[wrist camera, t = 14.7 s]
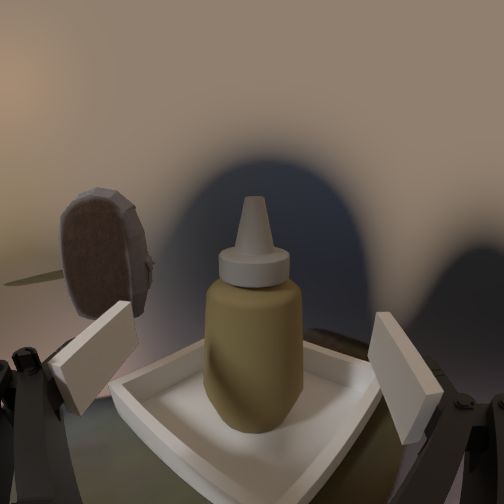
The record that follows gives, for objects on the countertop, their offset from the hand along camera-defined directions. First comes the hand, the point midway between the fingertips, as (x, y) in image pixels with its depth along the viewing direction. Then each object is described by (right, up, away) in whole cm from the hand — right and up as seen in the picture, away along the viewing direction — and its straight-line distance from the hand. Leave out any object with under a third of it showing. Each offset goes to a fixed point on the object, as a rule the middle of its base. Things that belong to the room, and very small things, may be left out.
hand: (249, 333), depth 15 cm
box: (0, -11, +9) cm, 14 cm away
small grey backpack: (-22, -6, +28) cm, 36 cm away
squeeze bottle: (0, -10, +8) cm, 13 cm away
